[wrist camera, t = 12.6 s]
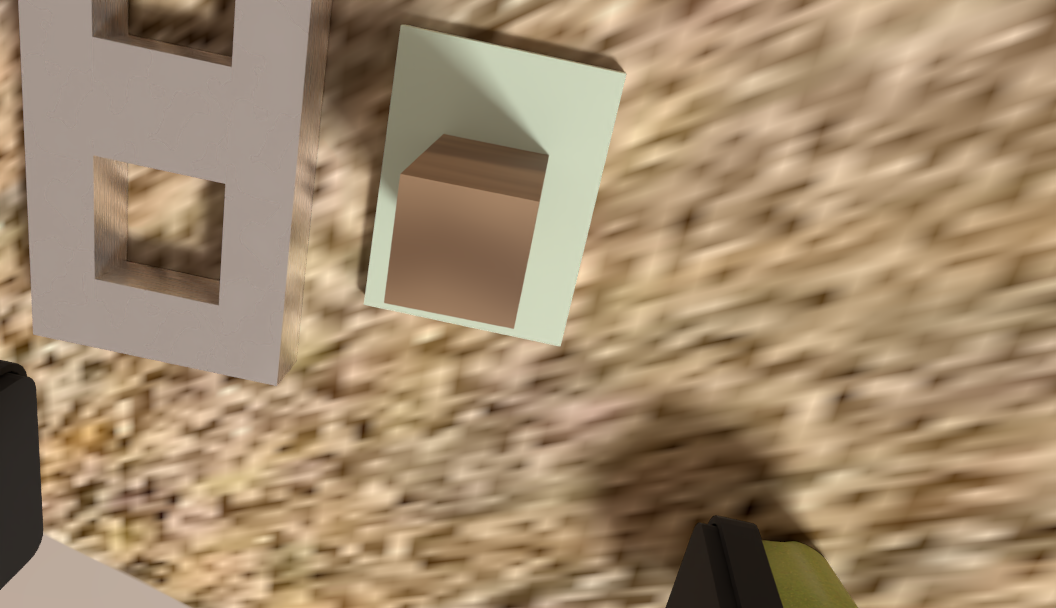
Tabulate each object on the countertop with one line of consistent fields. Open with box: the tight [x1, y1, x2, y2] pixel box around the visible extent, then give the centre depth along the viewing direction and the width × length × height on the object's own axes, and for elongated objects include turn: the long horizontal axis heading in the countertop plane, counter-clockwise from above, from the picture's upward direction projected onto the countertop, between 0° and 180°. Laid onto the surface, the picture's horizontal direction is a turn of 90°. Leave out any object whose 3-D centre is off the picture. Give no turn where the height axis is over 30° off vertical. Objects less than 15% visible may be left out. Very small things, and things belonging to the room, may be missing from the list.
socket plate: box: [18, 0, 332, 386], centre depth 31 cm, size 22×11×2 cm, turn 168°
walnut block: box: [384, 134, 549, 329], centre depth 28 cm, size 4×4×8 cm
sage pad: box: [364, 24, 626, 346], centre depth 32 cm, size 12×9×1 cm
